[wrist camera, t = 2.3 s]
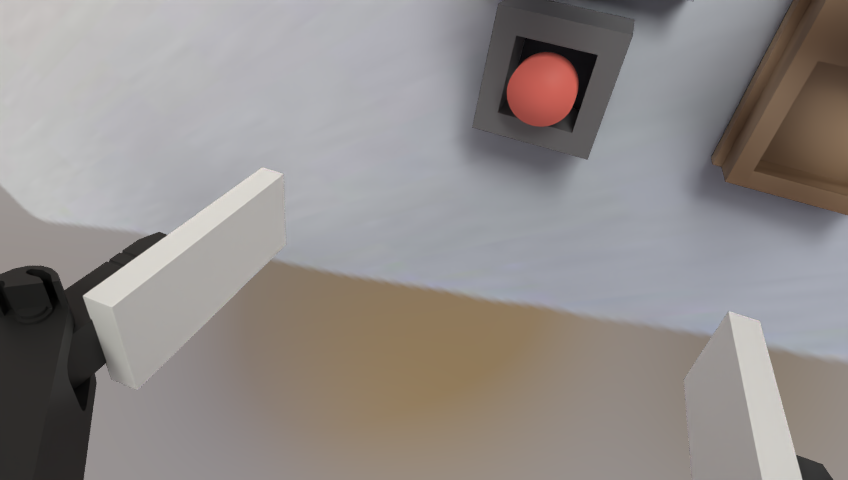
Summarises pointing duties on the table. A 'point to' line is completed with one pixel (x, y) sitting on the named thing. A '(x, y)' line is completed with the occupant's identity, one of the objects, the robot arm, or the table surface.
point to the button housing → (562, 26)
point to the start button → (543, 89)
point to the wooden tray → (796, 112)
